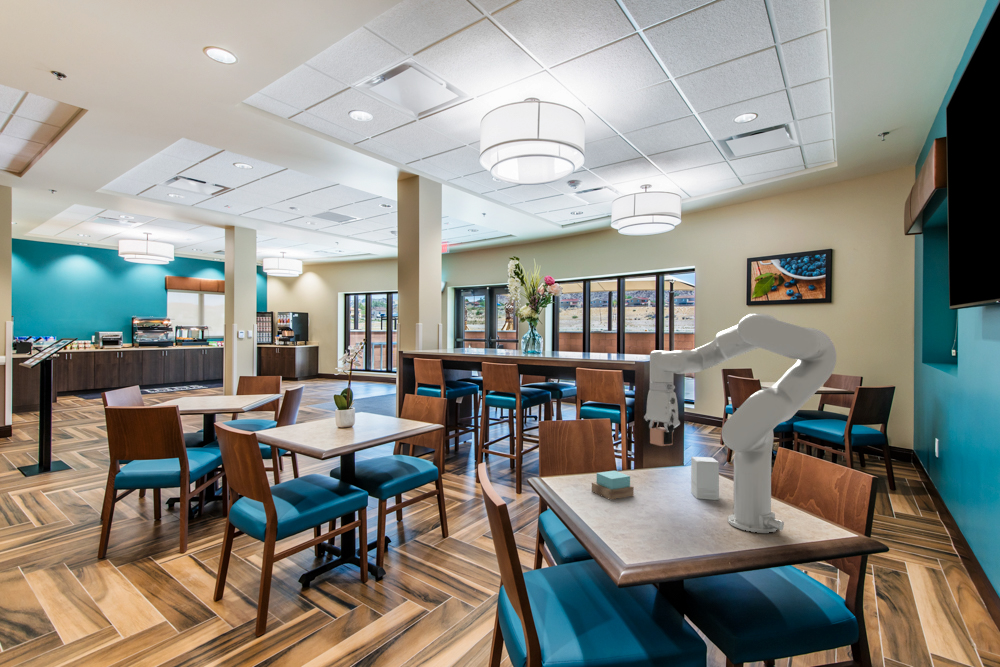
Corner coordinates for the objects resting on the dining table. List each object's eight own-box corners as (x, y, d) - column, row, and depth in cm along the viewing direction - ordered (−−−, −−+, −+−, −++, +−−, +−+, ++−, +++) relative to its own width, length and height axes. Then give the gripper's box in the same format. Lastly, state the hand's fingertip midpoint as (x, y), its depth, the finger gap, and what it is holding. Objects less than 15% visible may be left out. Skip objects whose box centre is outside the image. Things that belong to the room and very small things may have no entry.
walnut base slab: (633, 497, 160) (633, 486, 160) (610, 501, 155) (610, 490, 155) (613, 489, 169) (613, 479, 169) (591, 492, 164) (591, 482, 164)
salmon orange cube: (672, 444, 155) (672, 429, 155) (661, 446, 152) (661, 430, 152) (661, 441, 159) (661, 427, 159) (650, 443, 157) (650, 428, 157)
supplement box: (719, 500, 156) (719, 462, 156) (696, 498, 157) (696, 461, 157) (713, 493, 163) (713, 457, 164) (690, 492, 164) (690, 456, 165)
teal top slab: (630, 486, 160) (630, 476, 160) (611, 489, 156) (611, 479, 157) (614, 480, 167) (614, 470, 167) (596, 483, 164) (596, 473, 164)
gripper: (690, 389, 150) (690, 446, 150) (650, 385, 165) (650, 436, 165) (673, 390, 147) (673, 448, 146) (634, 385, 162) (634, 438, 161)
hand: (661, 441), depth 156 cm, fingers closed on salmon orange cube, 5 cm apart
